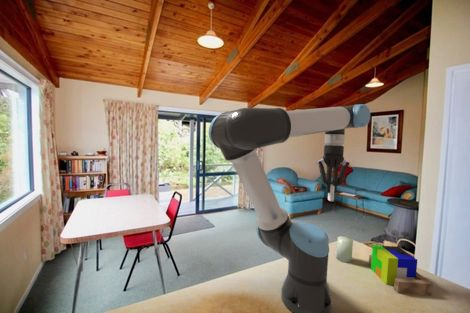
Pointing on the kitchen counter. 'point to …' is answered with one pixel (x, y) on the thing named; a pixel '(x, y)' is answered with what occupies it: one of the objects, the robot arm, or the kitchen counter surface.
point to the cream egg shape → (344, 249)
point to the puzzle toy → (392, 264)
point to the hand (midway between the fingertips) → (330, 200)
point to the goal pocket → (411, 284)
